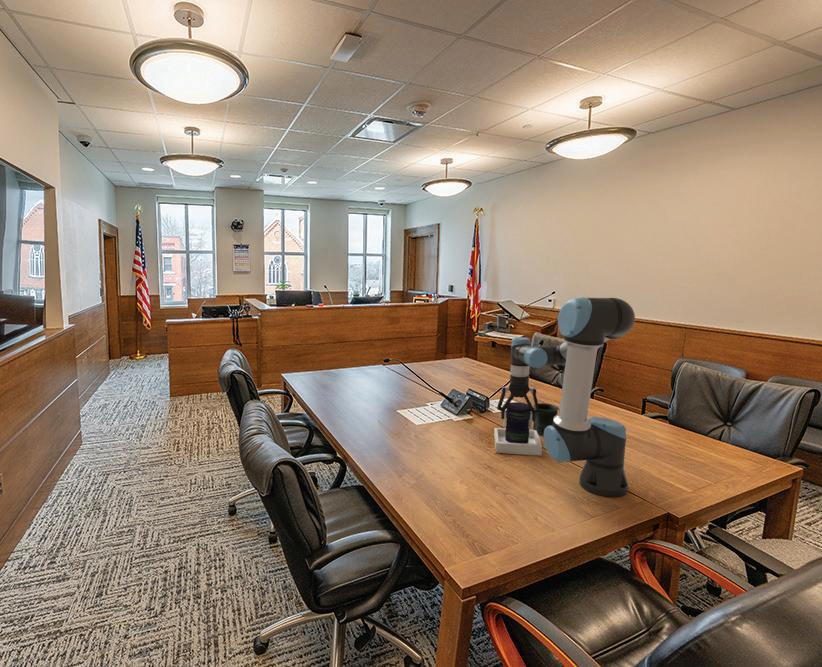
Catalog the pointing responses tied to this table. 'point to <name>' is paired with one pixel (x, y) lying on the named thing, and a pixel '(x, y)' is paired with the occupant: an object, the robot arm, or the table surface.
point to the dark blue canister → (517, 423)
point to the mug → (544, 417)
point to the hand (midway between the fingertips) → (517, 427)
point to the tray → (517, 444)
